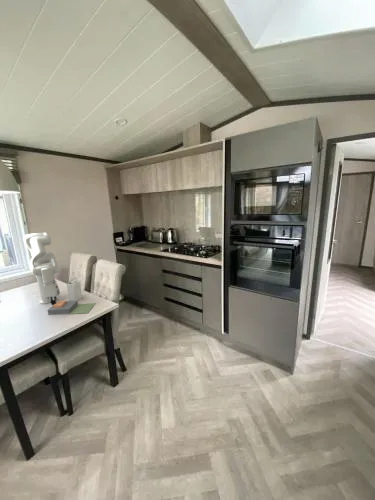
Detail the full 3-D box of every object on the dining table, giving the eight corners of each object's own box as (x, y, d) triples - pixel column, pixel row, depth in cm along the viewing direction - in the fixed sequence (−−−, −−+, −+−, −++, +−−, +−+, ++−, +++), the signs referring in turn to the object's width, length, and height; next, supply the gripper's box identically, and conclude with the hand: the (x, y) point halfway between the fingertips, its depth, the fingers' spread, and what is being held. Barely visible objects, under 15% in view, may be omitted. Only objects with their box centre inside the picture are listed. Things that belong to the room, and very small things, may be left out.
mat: (78, 304, 180) (78, 303, 180) (95, 303, 180) (95, 303, 180) (68, 314, 165) (68, 313, 165) (87, 313, 165) (87, 312, 165)
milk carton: (69, 300, 188) (65, 279, 184) (76, 297, 195) (72, 276, 190) (76, 301, 186) (72, 280, 182) (82, 297, 193) (79, 277, 188)
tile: (59, 303, 175) (58, 300, 175) (66, 302, 175) (66, 300, 175) (53, 307, 167) (53, 305, 167) (61, 307, 168) (61, 305, 167)
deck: (58, 305, 179) (57, 301, 178) (78, 304, 179) (77, 300, 178) (48, 314, 165) (47, 310, 165) (69, 313, 166) (68, 308, 165)
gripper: (61, 280, 171) (66, 301, 175) (42, 281, 170) (47, 302, 175) (56, 283, 163) (60, 306, 167) (36, 284, 163) (41, 307, 167)
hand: (53, 304), depth 171 cm, fingers closed
